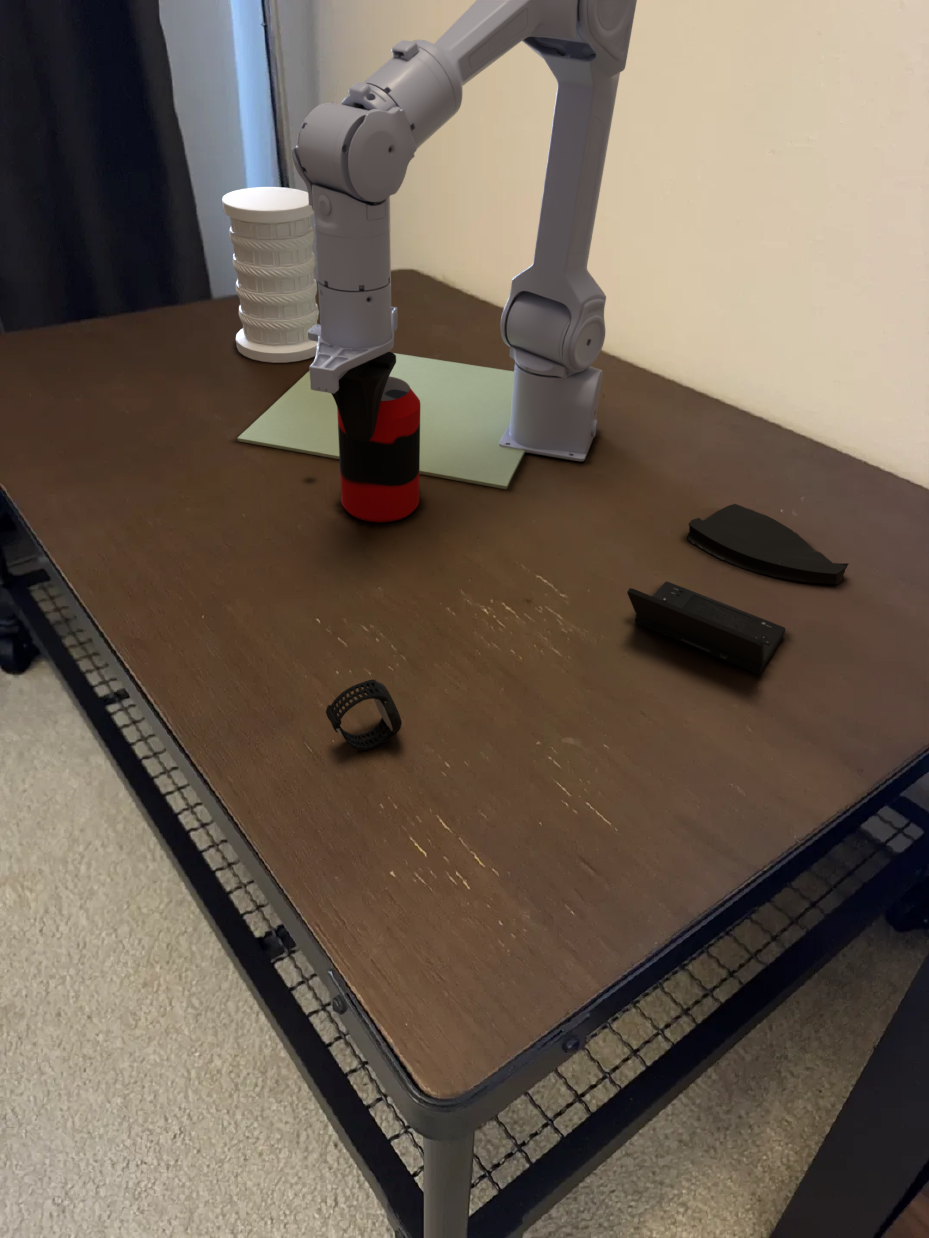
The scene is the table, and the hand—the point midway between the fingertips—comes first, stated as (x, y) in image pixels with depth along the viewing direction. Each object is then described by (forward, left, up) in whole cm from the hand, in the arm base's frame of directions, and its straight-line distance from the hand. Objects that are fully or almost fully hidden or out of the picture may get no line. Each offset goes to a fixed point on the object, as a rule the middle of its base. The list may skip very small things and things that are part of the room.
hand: (360, 437), depth 79 cm
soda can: (0, -5, -10) cm, 11 cm away
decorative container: (+26, -38, -10) cm, 47 cm away
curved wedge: (-36, -9, -10) cm, 38 cm away
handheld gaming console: (-32, +6, -10) cm, 34 cm away
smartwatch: (-10, +25, -10) cm, 29 cm away
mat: (+4, -26, -10) cm, 28 cm away
